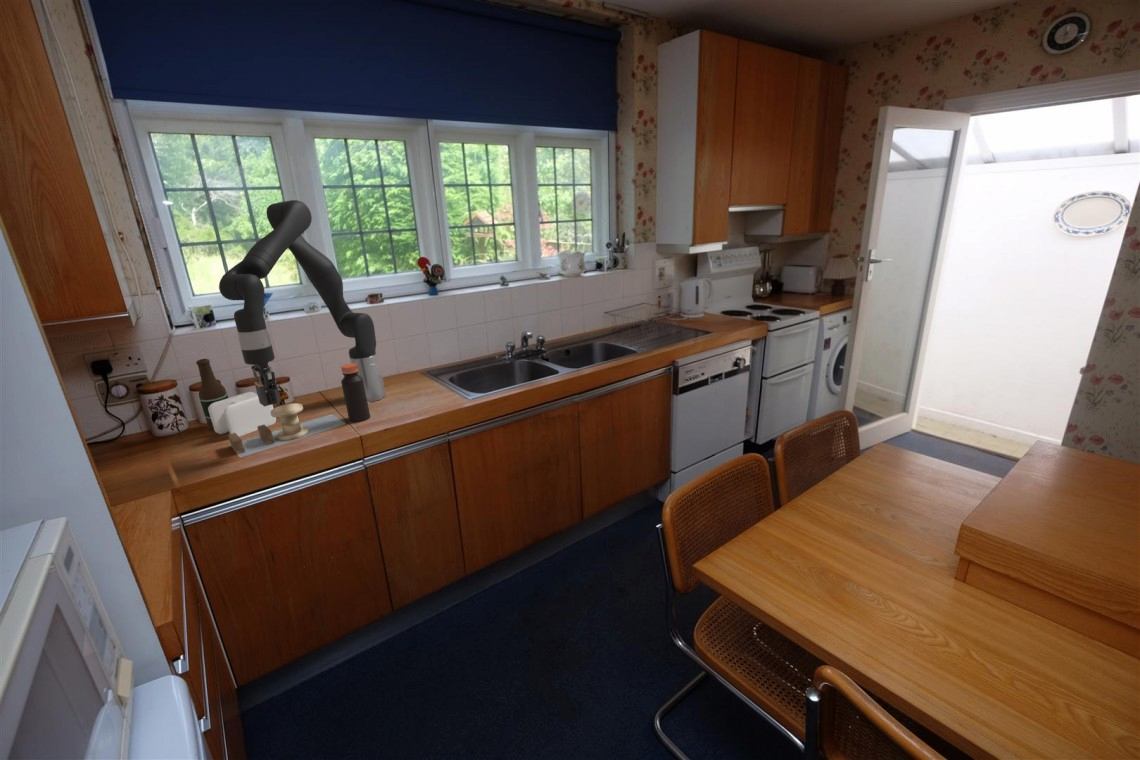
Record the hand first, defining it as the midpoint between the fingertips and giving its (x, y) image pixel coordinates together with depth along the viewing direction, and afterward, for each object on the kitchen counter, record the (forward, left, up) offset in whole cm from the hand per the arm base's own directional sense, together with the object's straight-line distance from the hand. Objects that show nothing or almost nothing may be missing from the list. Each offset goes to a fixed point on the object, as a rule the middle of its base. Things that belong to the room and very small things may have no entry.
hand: (270, 401), depth 146 cm
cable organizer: (+4, -26, -16) cm, 31 cm away
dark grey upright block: (0, 0, 0) cm, 0 cm away
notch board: (+6, -9, -15) cm, 18 cm away
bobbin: (-5, -7, -15) cm, 17 cm away
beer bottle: (+9, -38, -16) cm, 42 cm away
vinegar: (-25, -3, -16) cm, 30 cm away
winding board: (-5, -9, -16) cm, 19 cm away
